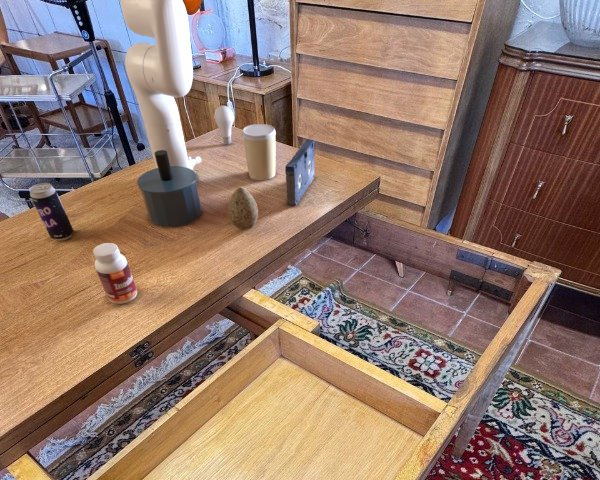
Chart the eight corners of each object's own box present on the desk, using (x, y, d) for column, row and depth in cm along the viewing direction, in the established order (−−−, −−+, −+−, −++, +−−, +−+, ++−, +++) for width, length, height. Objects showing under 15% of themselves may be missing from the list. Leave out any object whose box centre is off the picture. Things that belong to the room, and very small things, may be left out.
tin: (176, 196, 122) (169, 164, 116) (212, 210, 117) (206, 177, 110) (138, 217, 115) (128, 184, 109) (174, 232, 110) (165, 199, 103)
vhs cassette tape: (306, 176, 129) (306, 138, 121) (316, 177, 128) (316, 139, 121) (285, 205, 118) (283, 166, 110) (295, 206, 117) (294, 167, 110)
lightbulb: (240, 145, 144) (235, 107, 136) (222, 149, 143) (217, 110, 134) (232, 139, 148) (227, 101, 139) (215, 143, 146) (209, 105, 138)
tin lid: (169, 166, 117) (162, 136, 111) (209, 179, 111) (204, 149, 105) (126, 186, 109) (116, 156, 104) (166, 202, 104) (158, 171, 98)
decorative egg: (237, 238, 108) (231, 197, 100) (226, 225, 112) (220, 185, 104) (263, 230, 110) (260, 190, 102) (252, 218, 114) (248, 178, 106)
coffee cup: (280, 168, 133) (278, 123, 123) (275, 182, 127) (272, 136, 118) (250, 167, 134) (245, 122, 124) (243, 181, 128) (238, 135, 119)
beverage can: (51, 233, 111) (27, 184, 102) (74, 228, 112) (53, 180, 103) (51, 244, 108) (27, 195, 98) (75, 239, 109) (53, 190, 100)
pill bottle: (124, 308, 91) (105, 261, 83) (102, 299, 93) (81, 253, 85) (144, 292, 95) (128, 245, 86) (122, 284, 97) (104, 237, 88)
